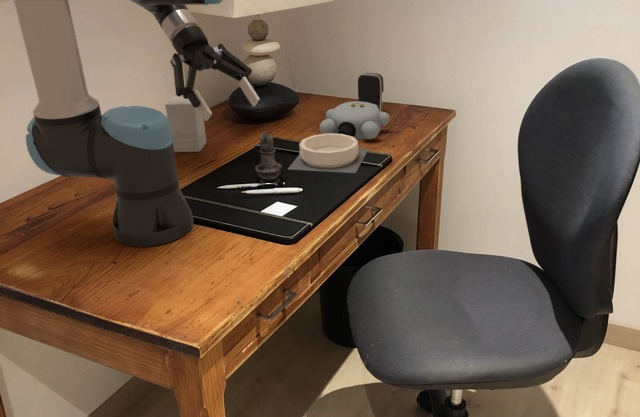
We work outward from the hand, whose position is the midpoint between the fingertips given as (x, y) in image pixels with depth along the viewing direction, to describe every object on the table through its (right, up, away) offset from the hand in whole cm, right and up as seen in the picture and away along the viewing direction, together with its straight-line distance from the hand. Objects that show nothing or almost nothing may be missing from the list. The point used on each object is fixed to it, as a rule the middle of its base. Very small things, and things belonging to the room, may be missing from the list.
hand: (233, 110), depth 150 cm
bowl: (+22, -10, +10) cm, 26 cm away
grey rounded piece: (+28, -3, +26) cm, 39 cm away
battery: (+34, +5, +43) cm, 55 cm away
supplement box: (-14, -7, +23) cm, 28 cm away
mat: (+22, -11, +10) cm, 26 cm away
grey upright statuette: (+8, -16, -1) cm, 18 cm away
